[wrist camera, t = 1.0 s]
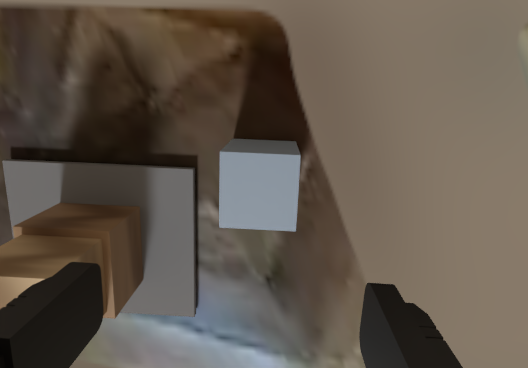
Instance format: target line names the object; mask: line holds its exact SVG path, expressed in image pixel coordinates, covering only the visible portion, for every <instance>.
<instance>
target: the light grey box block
mask: <svg viewBox="0 0 528 368" xmlns="http://www.w3.org/2000/svg"><path fill="white" fill-rule="evenodd" d="M300 158H301V155H300V152H299V149H298V146H297V143H296V141H276V140H253V139H232V140H231V141H230V142H229V143H228V144H227V145H226V146H225V147H224V148H223V149H222V150H221V151H220V194H219V228H239V229H259V230H279V231H296V221H297V205H298V190H299V174H300Z"/></svg>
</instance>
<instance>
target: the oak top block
mask: <svg viewBox="0 0 528 368" xmlns="http://www.w3.org/2000/svg"><path fill="white" fill-rule="evenodd" d="M70 262H84V263H97V264H98V265H99V266H100V268H101V277H102V292H103V307H104V312H103V316H104V314H105V313H106V312H107V304H106V291H105V277H104V264H103V251H102V239H96V238H78V237H59V236H40V235H20V236H18V237H16V238H14V239H13V240H11V241H9V242H7V243H5V244H3V245H2V246H0V309H1V308H2V307H6V304H8V303H9V302H10V301H12V300H13V299H14V298H18V295H20V294H21V293H22V292H23V291H25V290H26V289H27V288H29V287H30V286H31V285H33V284H36V283H38V282H40V281H42V280H44V279H47V278H49V277H52V276H53V275H54V274H56V273H57V272H58V271H59V270H61V269H62V268H63V267H65V266H66V265H67V264H68V263H70Z"/></svg>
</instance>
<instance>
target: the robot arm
mask: <svg viewBox="0 0 528 368" xmlns="http://www.w3.org/2000/svg"><path fill="white" fill-rule="evenodd" d="M103 312H104V307H103V292H102V277H101V268H100V266H99V265H98V264H97V263H84V262H70V263H68V264H67V265H66V266H65V267H63V268H62V269H61V270H59V271H58V272H57V273H56V274H54V275H53V276H52V277H49V278H47V279H44V280H42V281H40V282H38V283H36V284H33V285H31V286H30V287H29V288H27V289H26V290H25V291H23V292H22V293H21V294H20V295H18V298H14V299H13V300H12V301H10V302H9V303H8V304H6V307H2V308H1V309H0V368H69V367H70V366H71V365H72V363H73V362H74V361H75V360H76V358H77V357H78V356H79V354H80V353H81V352H82V351H83V349H84V348H85V347H86V345H87V344H88V343H89V342H90V340H91V339H92V338H93V336H94V335H95V334H96V333H97V331H98V330H99V328H100V325H101V323H102V319H103ZM360 348H361V353H362V356H363V360H364V363H365V366H366V368H463V367H462V366H461V364H460V363H459V361H458V360H457V358H456V357H455V355H454V354H453V352H452V351H451V349H450V348H449V346H448V345H447V343H446V341H443V337H442V336H441V334H440V333H439V331H438V330H436V326H435V325H434V323H433V322H432V320H431V319H430V317H429V316H428V314H427V313H425V312H424V311H423V310H421V309H420V308H419V307H418V306H416V305H415V304H413V303H405V302H404V300H403V298H402V297H401V295H400V293H399V291H398V290H397V288H396V287H395V285H393V284H379V283H367V285H366V288H365V294H364V302H363V309H362V317H361V325H360Z"/></svg>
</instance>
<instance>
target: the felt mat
mask: <svg viewBox="0 0 528 368" xmlns="http://www.w3.org/2000/svg"><path fill="white" fill-rule="evenodd" d="M3 169H4V176H5V183H6V190H7V197H8V205H9V212H10V219H11V226H12V234H13V239H14V233H13V226H15V225H17V224H19V223H21V222H23V221H25V220H27V219H29V218H31V217H33V216H35V215H37V214H39V213H41V212H43V211H45V210H47V209H49V208H51V207H53V206H55V205H57V204H59V203H77V204H97V205H117V206H137V207H140V222H141V243H142V265H143V281H142V282H141V284H140V285H139V286H138V288H137V289H136V291H135V292H134V293H133V295H132V296H131V297H130V299H129V300H128V302H127V303H126V304H125V306H124V307H123V308H122V310H121V311H120V312H121V313H138V314H155V315H172V316H189V317H195V314H196V240H195V168H189V167H167V166H146V165H124V164H103V163H81V162H60V161H38V160H17V159H7V160H3Z"/></svg>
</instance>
